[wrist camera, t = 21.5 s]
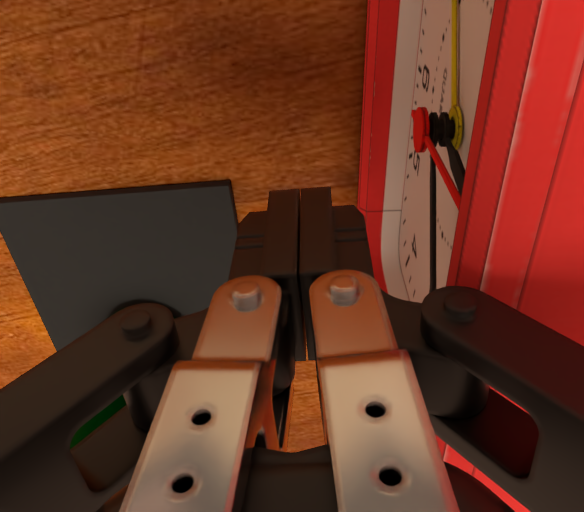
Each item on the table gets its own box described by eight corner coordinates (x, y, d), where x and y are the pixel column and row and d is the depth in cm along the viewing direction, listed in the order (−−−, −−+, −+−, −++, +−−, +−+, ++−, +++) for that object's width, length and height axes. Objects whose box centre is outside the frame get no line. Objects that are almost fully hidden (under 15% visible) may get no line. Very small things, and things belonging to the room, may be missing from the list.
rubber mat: (-8, 198, 28) (-14, 204, 27) (230, 179, 27) (228, 185, 26) (100, 430, 38) (97, 438, 37) (275, 424, 37) (274, 431, 36)
